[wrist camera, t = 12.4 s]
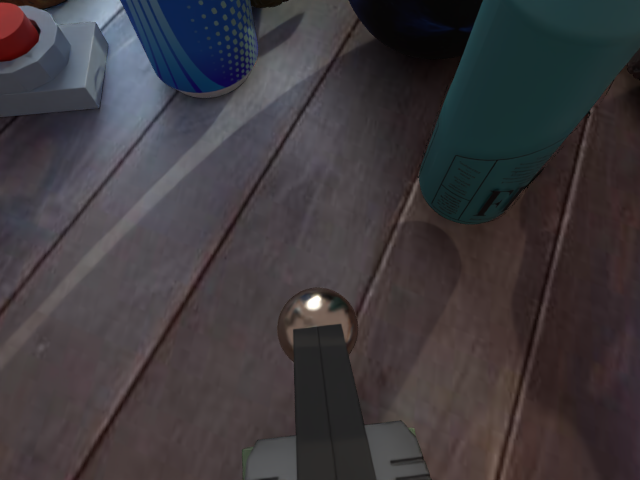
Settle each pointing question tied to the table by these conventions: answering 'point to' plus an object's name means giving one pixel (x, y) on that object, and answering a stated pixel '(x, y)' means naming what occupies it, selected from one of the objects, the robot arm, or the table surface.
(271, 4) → the hand grenade
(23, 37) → the bell button
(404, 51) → the decorative sphere
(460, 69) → the beverage bottle
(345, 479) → the robot arm
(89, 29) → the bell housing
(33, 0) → the bread roll
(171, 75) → the beer can
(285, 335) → the latch lever
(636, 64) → the rock
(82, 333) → the table surface
